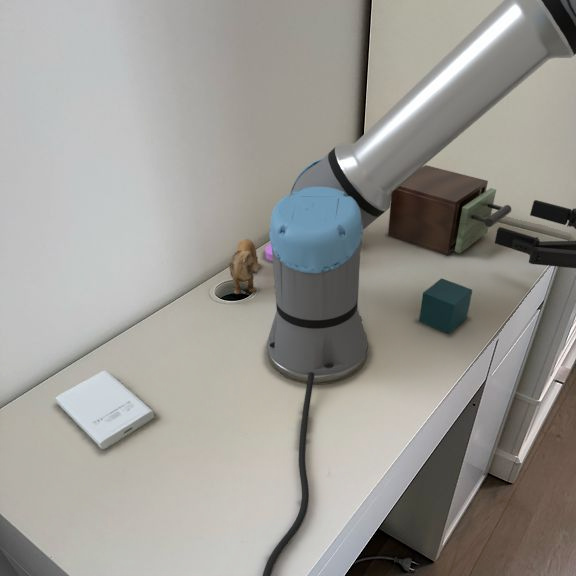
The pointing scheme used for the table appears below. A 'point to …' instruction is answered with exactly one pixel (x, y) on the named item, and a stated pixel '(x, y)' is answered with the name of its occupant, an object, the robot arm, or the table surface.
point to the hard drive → (104, 409)
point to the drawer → (476, 218)
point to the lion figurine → (244, 265)
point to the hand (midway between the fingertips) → (515, 220)
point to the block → (445, 305)
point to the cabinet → (430, 207)
